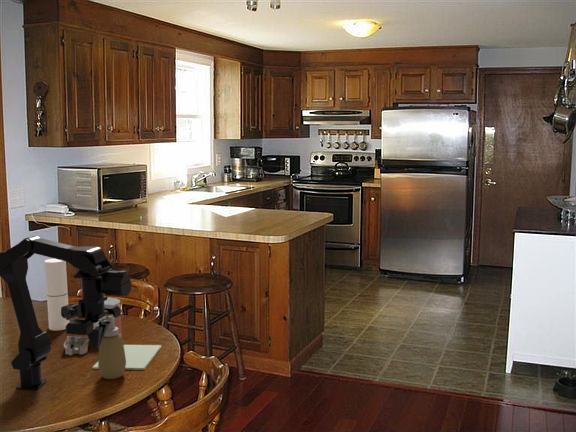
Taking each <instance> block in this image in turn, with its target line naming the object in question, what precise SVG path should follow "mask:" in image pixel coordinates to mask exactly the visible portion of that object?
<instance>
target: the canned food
mask: <svg viewBox="0 0 576 432" xmlns="http://www.w3.org/2000/svg"><path fill="white" fill-rule="evenodd" d="M104 304H105V305H118V306H119V308H120V309H121V300H120V299H119V298H116V297H115V298H114V297H107V300H106V301H104ZM109 316H112V319H113V322H114V326H115V327H118V328H119V334H120V335H121V336H123V335H122V334H123V333H122V318H121V317H122V314H121V315H120V316H118V317H117V318H115V317H114V316H113V315H108V316H106V317H105V319H106V321H107V319H108V317H109Z"/></svg>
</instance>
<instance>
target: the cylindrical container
mask: <svg viewBox="0 0 576 432" xmlns="http://www.w3.org/2000/svg"><path fill="white" fill-rule="evenodd" d="M44 271H45V272H44V273H45V287H46V301H47V302H46V303H47V318H48V329H49V330H50V331H63V330H66V325H67V324H68V323H69V322H70V320H66V318H63V317H62V316H61V307H63V306H66V305H68V304H69V294H68V293H69V292H68V277H67V262H66V261H62V260H58V259H54V258H49V259H45V260H44Z"/></svg>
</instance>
